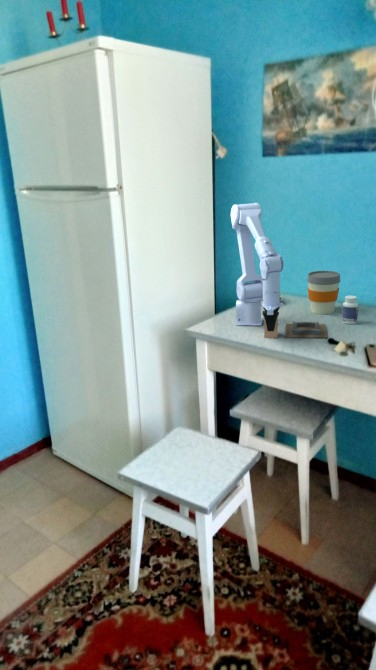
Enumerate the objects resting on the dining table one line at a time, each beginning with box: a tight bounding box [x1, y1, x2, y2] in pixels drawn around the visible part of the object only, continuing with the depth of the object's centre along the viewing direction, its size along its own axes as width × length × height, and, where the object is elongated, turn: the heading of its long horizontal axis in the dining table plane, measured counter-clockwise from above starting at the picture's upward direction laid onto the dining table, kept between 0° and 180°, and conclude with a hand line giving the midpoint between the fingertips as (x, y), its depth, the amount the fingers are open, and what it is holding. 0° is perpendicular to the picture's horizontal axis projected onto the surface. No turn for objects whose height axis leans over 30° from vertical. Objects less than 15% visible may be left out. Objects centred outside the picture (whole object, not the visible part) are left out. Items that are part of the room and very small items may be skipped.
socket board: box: [284, 321, 328, 340], centre depth 172 cm, size 14×14×2 cm
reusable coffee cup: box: [306, 270, 341, 315], centre depth 191 cm, size 13×13×15 cm
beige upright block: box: [263, 316, 279, 339], centre depth 169 cm, size 4×4×7 cm
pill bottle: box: [341, 295, 359, 325], centre depth 177 cm, size 5×5×10 cm
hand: (271, 328), depth 169 cm, fingers closed on beige upright block, 4 cm apart
